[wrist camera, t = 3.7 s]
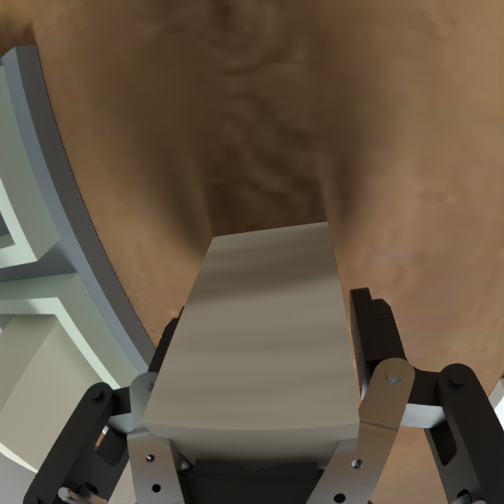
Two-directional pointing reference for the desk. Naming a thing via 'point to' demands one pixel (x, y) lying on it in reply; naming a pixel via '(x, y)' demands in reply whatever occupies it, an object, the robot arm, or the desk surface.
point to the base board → (51, 278)
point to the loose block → (260, 355)
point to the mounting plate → (498, 400)
